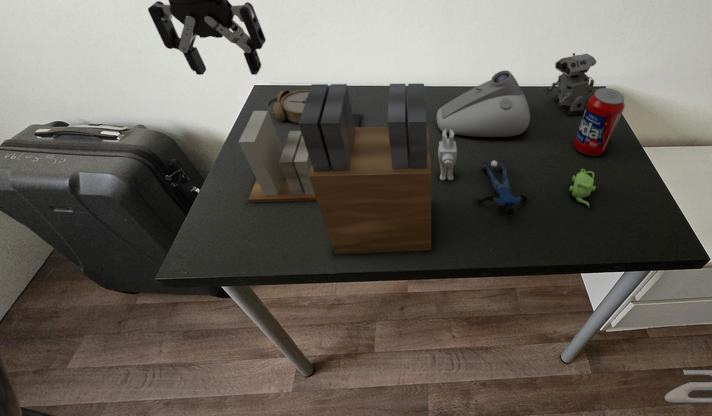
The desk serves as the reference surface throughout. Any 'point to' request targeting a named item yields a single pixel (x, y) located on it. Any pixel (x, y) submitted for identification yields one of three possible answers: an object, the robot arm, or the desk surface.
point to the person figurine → (502, 189)
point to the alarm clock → (289, 105)
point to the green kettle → (582, 186)
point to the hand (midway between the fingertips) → (229, 72)
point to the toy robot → (447, 155)
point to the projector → (487, 109)
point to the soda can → (599, 121)
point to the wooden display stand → (290, 174)
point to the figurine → (574, 82)
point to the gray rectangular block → (263, 152)
